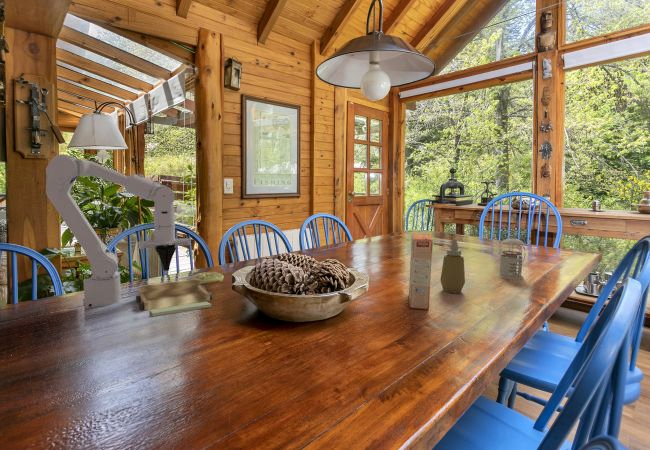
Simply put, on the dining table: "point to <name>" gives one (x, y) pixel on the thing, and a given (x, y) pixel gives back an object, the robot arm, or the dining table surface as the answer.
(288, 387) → the dining table surface
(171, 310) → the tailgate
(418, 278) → the cracker box
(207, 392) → the dining table surface
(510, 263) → the french press
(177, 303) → the cart
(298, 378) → the dining table surface
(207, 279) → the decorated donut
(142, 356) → the dining table surface
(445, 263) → the squeeze bottle
